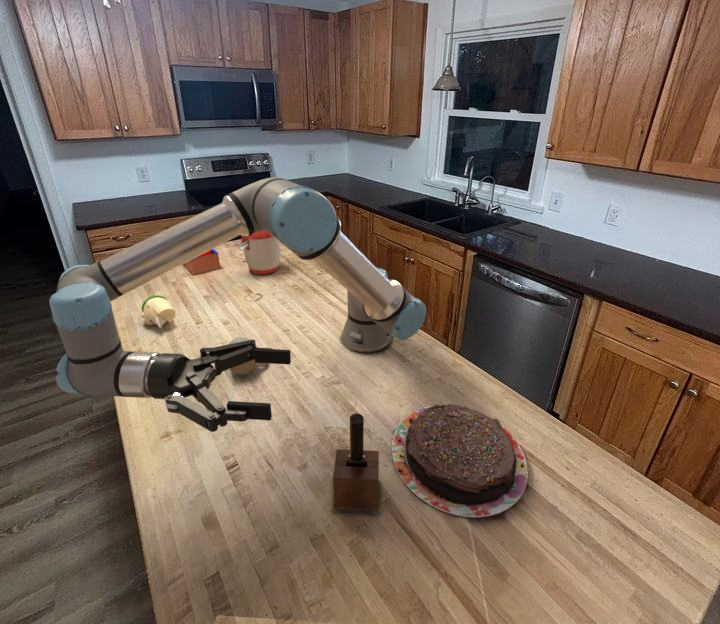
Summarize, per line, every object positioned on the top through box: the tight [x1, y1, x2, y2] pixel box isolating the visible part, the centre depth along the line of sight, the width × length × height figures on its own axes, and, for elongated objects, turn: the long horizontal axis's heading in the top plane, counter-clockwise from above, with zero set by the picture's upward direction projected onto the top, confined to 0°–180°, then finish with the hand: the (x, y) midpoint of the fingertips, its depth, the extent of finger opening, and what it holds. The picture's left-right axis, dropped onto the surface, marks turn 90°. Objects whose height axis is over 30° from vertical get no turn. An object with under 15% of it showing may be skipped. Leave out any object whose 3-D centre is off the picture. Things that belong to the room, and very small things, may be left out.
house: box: [183, 248, 221, 276], centre depth 171 cm, size 12×20×12 cm, turn 37°
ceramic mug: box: [228, 336, 268, 376], centre depth 108 cm, size 11×8×8 cm
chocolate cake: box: [391, 403, 530, 519], centre depth 81 cm, size 28×28×7 cm
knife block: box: [332, 448, 380, 511], centre depth 72 cm, size 8×6×9 cm
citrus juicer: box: [238, 230, 282, 276], centre depth 164 cm, size 16×17×20 cm
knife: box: [348, 412, 365, 467], centre depth 70 cm, size 3×2×19 cm
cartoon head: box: [140, 294, 176, 330], centre depth 129 cm, size 9×10×20 cm
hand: (281, 382), depth 65 cm, fingers open, 13 cm apart
